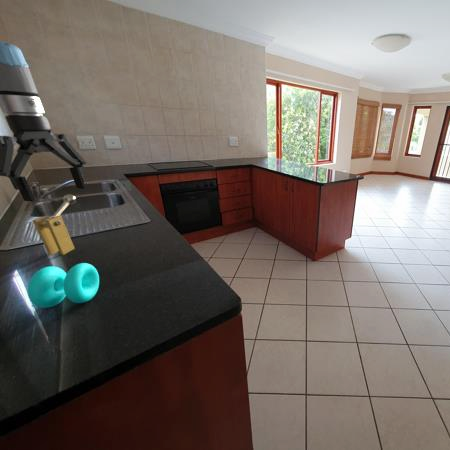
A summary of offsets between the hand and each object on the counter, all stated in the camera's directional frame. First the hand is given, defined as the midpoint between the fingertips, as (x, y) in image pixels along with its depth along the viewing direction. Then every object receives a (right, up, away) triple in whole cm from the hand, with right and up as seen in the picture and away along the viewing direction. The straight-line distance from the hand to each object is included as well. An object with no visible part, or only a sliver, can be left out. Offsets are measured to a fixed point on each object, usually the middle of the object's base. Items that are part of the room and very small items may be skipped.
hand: (58, 194), depth 70 cm
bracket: (-11, -20, +12) cm, 25 cm away
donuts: (+13, -29, -8) cm, 33 cm away
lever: (-11, -5, +12) cm, 17 cm away
